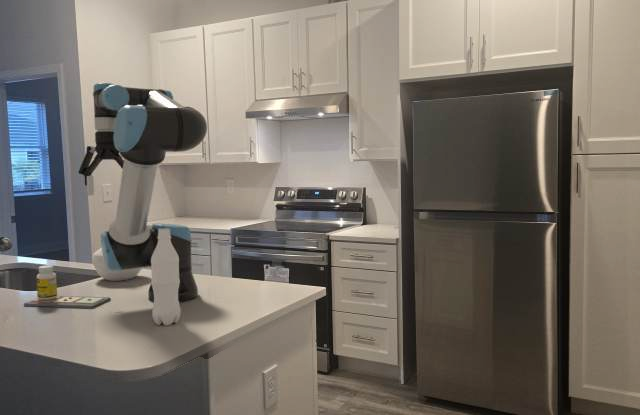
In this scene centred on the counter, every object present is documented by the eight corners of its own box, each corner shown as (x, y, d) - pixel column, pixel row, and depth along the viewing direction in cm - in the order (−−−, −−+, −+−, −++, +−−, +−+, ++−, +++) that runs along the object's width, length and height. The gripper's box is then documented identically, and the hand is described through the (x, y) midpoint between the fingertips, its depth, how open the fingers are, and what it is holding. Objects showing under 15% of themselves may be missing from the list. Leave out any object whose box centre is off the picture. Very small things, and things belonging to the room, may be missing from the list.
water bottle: (165, 328, 137) (162, 231, 135) (146, 324, 141) (143, 229, 139) (186, 321, 143) (184, 228, 141) (167, 317, 147) (165, 226, 145)
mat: (110, 299, 167) (110, 295, 166) (92, 308, 157) (92, 304, 157) (45, 297, 170) (45, 293, 170) (24, 306, 160) (23, 301, 160)
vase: (155, 277, 200) (153, 226, 199) (108, 285, 186) (106, 231, 185) (129, 271, 212) (128, 223, 211) (84, 278, 198) (82, 227, 197)
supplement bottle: (33, 299, 163) (31, 267, 162) (48, 295, 168) (47, 264, 167) (46, 300, 161) (45, 268, 160) (61, 296, 166) (59, 265, 165)
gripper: (148, 131, 179) (150, 194, 181) (79, 132, 183) (81, 194, 184) (137, 130, 172) (139, 196, 173) (65, 131, 175) (68, 196, 177)
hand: (109, 195), depth 179 cm, fingers open, 13 cm apart
